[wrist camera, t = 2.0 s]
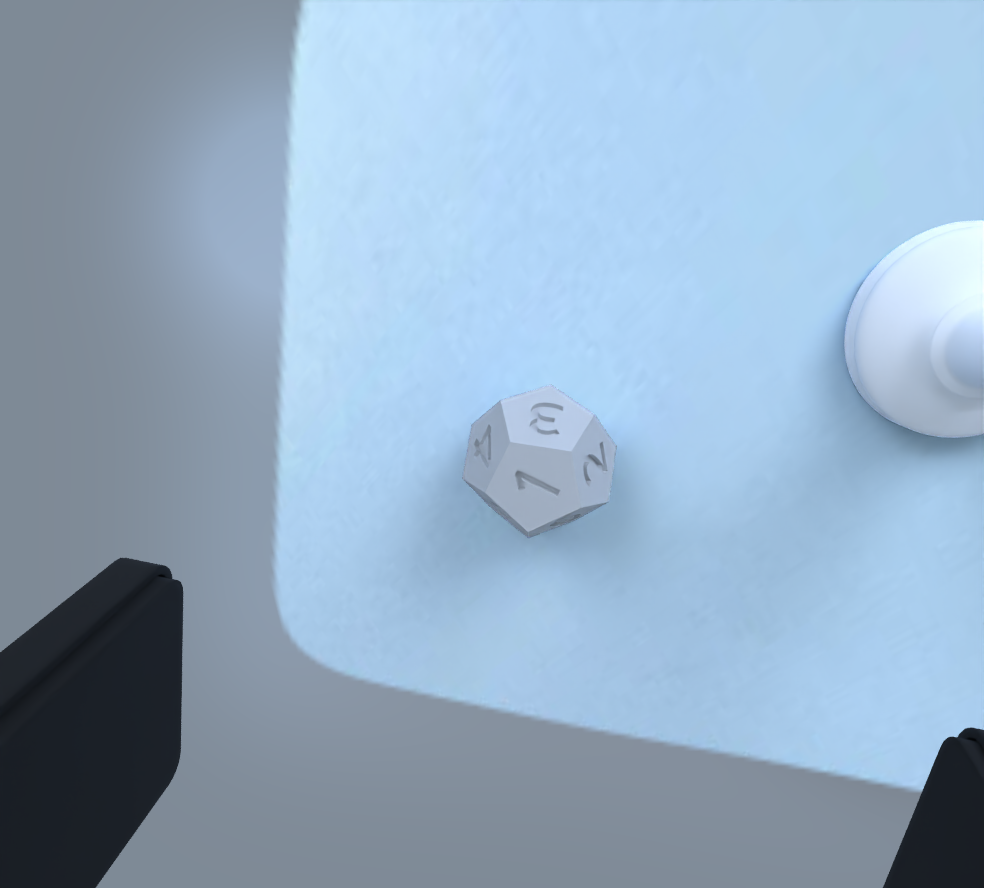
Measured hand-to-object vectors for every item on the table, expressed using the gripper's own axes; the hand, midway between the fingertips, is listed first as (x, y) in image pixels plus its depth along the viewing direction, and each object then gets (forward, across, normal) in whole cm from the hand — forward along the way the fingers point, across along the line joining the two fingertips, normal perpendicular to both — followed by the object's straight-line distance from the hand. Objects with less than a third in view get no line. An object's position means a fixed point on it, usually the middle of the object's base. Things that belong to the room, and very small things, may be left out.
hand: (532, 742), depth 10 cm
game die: (+12, +1, 0) cm, 12 cm away
